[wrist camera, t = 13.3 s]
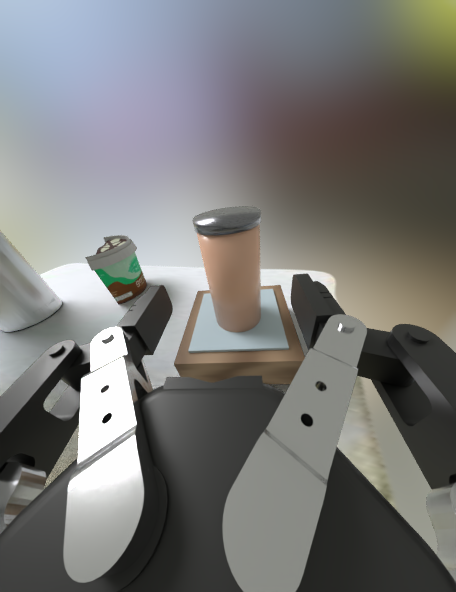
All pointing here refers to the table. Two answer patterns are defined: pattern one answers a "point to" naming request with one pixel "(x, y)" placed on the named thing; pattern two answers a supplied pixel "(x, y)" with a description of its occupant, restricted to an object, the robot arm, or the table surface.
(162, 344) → the table surface
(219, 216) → the terracotta canister
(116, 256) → the food container
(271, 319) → the walnut riser
